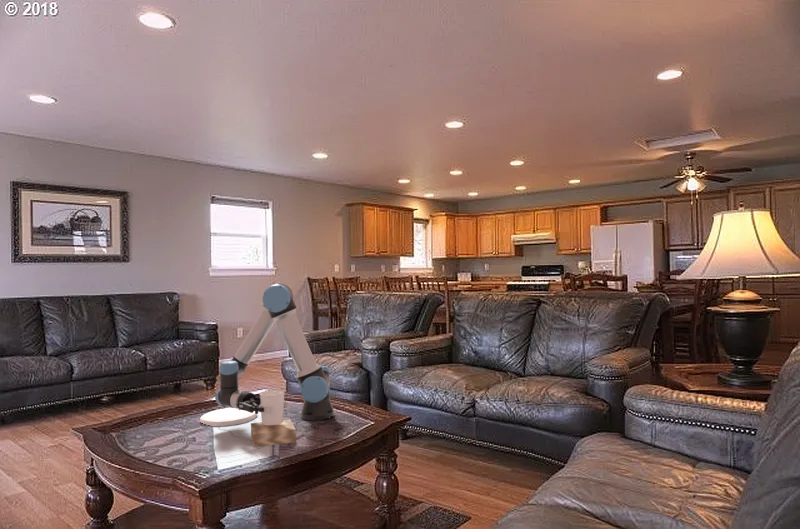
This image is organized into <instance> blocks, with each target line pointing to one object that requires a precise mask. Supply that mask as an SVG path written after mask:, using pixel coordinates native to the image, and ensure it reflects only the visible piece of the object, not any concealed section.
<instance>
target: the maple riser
mask: <svg viewBox="0 0 800 529" xmlns="http://www.w3.org/2000/svg"><path fill="white" fill-rule="evenodd" d="M296 430H297V429H296V428H295V426H294V424H293V421H292V420H291V419H289V418H287V419H283V422H282V423H281V424H278V425H263V424H262V421H261V422H251V423H250V437H251V442H252V445H253V448H257V447H266V446H272V445H273V446H274V445H282V444H283V445H284V444H291V443H297V438H296V437H297V431H296Z"/></svg>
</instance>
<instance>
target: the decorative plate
mask: <svg viewBox="0 0 800 529" xmlns="http://www.w3.org/2000/svg"><path fill="white" fill-rule="evenodd" d="M257 417H258V414H255V411H253V413H250V412H248V411H244V410H238V409H235V408H230V407H225V408H221V409H217V410H212V411H209V412H207V413H204V414H203V415H201V417H200V418H199V423H200V422H201V423H203V424H202V425H204V424H206V425H205V426H208V425H210V426H209V427H229V426H237V425H240V424H244V423H248V422H252V421H253V420H255V419H256V418H257ZM201 423H200V424H201Z"/></svg>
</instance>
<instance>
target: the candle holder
mask: <svg viewBox="0 0 800 529" xmlns="http://www.w3.org/2000/svg"><path fill="white" fill-rule="evenodd" d="M285 393H286V392H285V391H284V390H281V389H280V390H279V389H273V390H270V389H269V390H266V391H264V390H263V391H261V392H260V393H259V398H260V404H261V405H264V406H269V407H271V414H266V413H262V412H260V413H261V414H260V416H261V417H260V418H261V422H262V424H263V425H278V424H281V423H282V422H283V420H284V415H285V414H284V413H285V412H284V410H285V408H284V401H285Z"/></svg>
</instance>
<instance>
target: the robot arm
mask: <svg viewBox="0 0 800 529" xmlns="http://www.w3.org/2000/svg"><path fill="white" fill-rule="evenodd" d="M262 303H263V305H262V308H263V309H262V311H261V312H260V313H259V315H258V317H257V318H256V320H255V322H254V323H253V325H252V327H251V328H250V330H249V332H248V333H247V334H246V336H245V338H244V339H243V341H242V342H241V344H240V345H239V348H238V349H237V351H236V352H235V354H234V355H233V357H232V359H230V360H226V361H221V362H220V363H219V364H220V365H219V382H220V384H219V385H220V388H219V389H218V390H217V391H216V393H215V396H214V399H215V402H216V403H217V404H218V405H219V406H222V407H225V408H235V409H238V410H244V411H248V412H250V413H253V411H255V414H257V415H258V414H259V413H261V412H262V413H266V414H271V407H269V406H264V405H261V404H260V396H256V395H255V393H253V392H248V391H243V390H239V378H240V377H242V376H243V375H244V373H245V372H246V369H247V368H248V366H249V364H250V362H251V361H252V360H253V358H254V356H255V355H256V353H257V351H258V350H259V349H260V347H261V345H262V344H263V342H264V340H265V339H266V337H267V335H268V334H269V333H270V331H271V329H272V328H273V325H274V324H275V323H277V326H278V328H279V330H280V332H281V335H282V338H283V340H284V343H285V345H286V347H287V349H288V352H289V354H290V357H291V358H292V362H293V364H294V365H295V369H296V370H297V373H296V376H295V378H296V379H297V383H298V385H299V390H300V394H301V397H302V398H303V400H304V401H303V405H302V407H301V412H300V418H301V419H302V420H304V421H305V420H306V421H313V420H315V421H323V420H322V419H325V420H327V419H326V418H329V417H331V416H333V415H334V416H335V411H334V410H335V409H334V406H333V404H332V402H331V398H330V397H331V392H330V391H331V390H330V388H331V387H330V385H331V384H330V382H331V381H330V380H331V379H330V376H331V375H330V374H331V371H330V367H328V366H327V365H326V366H325V365H324V366H322V364H321V365H320V364H318V363H316V359H315V358H314V355H313V353H312V351H311V348H310V346H309V344H308V341H307V337H306V336H305V333H304V332H303V329H302V326H301V324H300V322H299V319H298V316H297V315H296V311H297V309H298V308H297V306H296V303H295V301H294V294H293V291H292V289H291V288H290V287H289V286H288V285H287V284H285V283H274V284H271V285H270V286H268V287H267V288H266V289H265V290H264V292H263V294H262ZM284 409H288V410H289V409H291V402H290V401H287V400H284ZM334 416H333V417H334ZM329 419H330V418H329Z"/></svg>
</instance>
